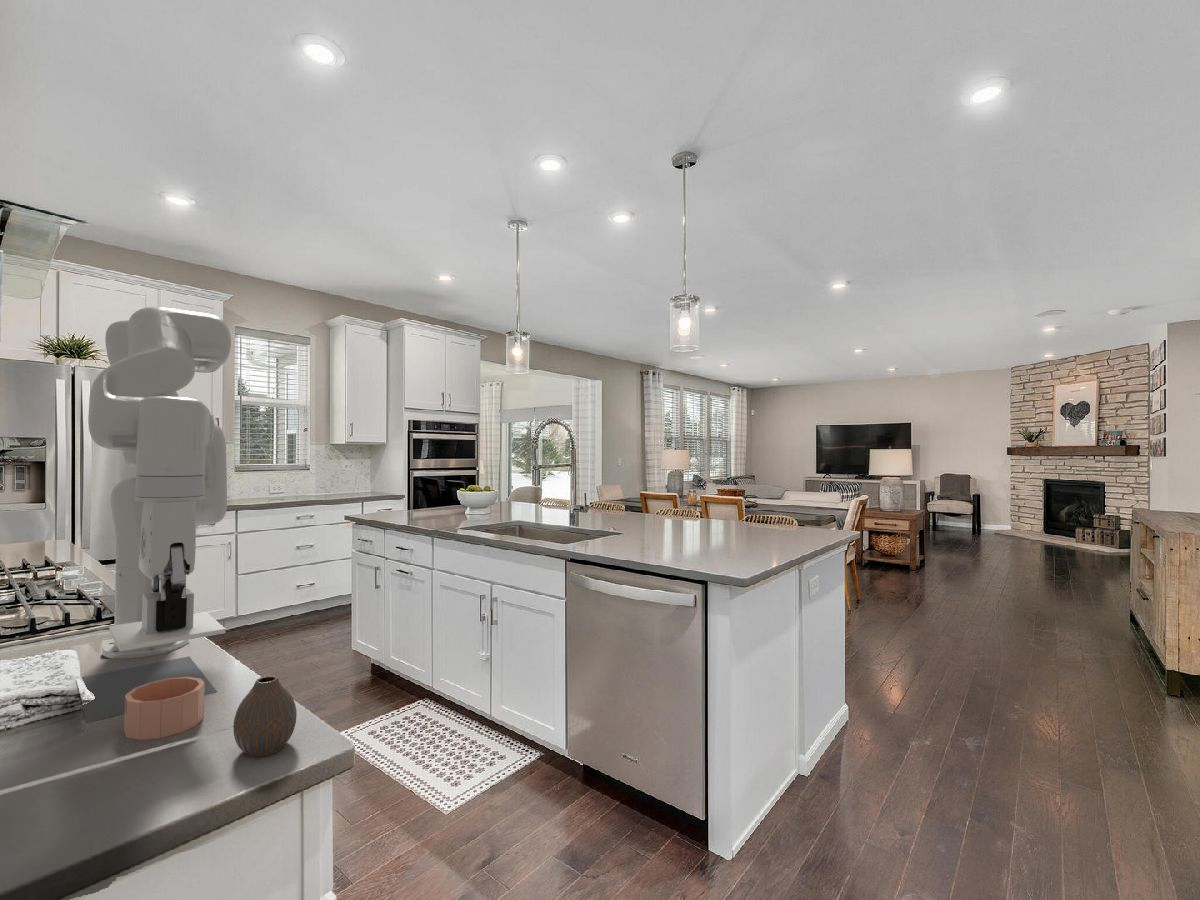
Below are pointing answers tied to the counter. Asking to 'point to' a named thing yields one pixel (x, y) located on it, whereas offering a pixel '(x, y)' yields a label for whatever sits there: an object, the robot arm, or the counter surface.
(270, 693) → the vase
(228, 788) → the counter surface
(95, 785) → the counter surface
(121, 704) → the mat
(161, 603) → the robot arm
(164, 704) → the bowl
